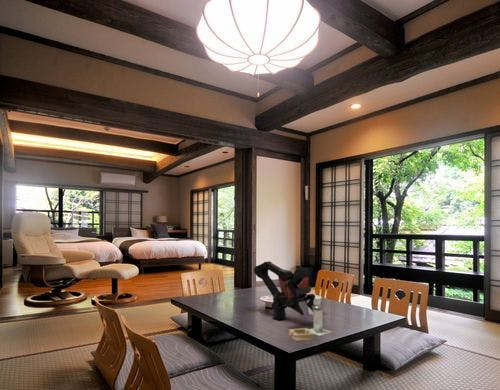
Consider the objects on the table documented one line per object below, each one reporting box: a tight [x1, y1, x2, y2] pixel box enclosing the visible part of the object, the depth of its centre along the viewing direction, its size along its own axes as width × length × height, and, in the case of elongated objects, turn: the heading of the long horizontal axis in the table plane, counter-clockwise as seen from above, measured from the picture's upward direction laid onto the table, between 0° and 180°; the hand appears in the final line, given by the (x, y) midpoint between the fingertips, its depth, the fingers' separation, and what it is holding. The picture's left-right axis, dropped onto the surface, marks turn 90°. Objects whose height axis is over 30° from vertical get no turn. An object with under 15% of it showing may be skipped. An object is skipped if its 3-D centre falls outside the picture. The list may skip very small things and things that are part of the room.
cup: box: [307, 294, 323, 316], centre depth 208 cm, size 10×10×11 cm
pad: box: [308, 327, 332, 337], centre depth 173 cm, size 10×10×1 cm
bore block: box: [288, 327, 316, 342], centre depth 164 cm, size 10×10×3 cm
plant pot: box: [277, 276, 310, 300], centre depth 250 cm, size 19×19×17 cm
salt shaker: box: [312, 304, 324, 333], centre depth 173 cm, size 6×6×13 cm
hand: (309, 313), depth 179 cm, fingers open, 9 cm apart
